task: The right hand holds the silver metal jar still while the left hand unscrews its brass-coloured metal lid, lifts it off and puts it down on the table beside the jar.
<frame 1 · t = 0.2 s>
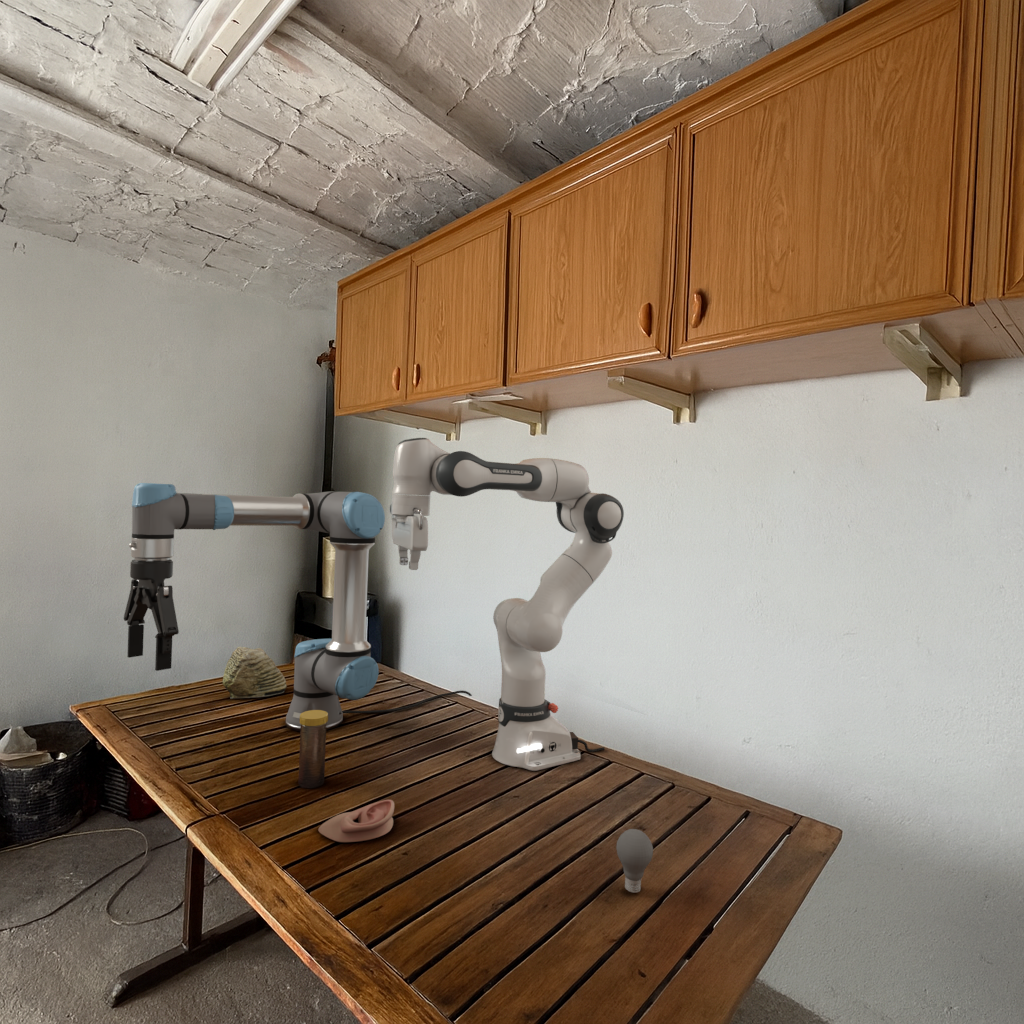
left hand: (148, 662, 129), 28 cm above the table, tool pointing down, fingers open, 13 cm apart
right hand: (408, 567, 147), 48 cm above the table, tool pointing down, fingers open, 8 cm apart
light bulb: (632, 891, 106), on the table
fossil: (254, 694, 198), on the table
anatomical model: (356, 828, 122), on the table
jar: (311, 782, 140), on the table
lid: (313, 715, 140), point 15 cm above the table, screwed on, not yet turned
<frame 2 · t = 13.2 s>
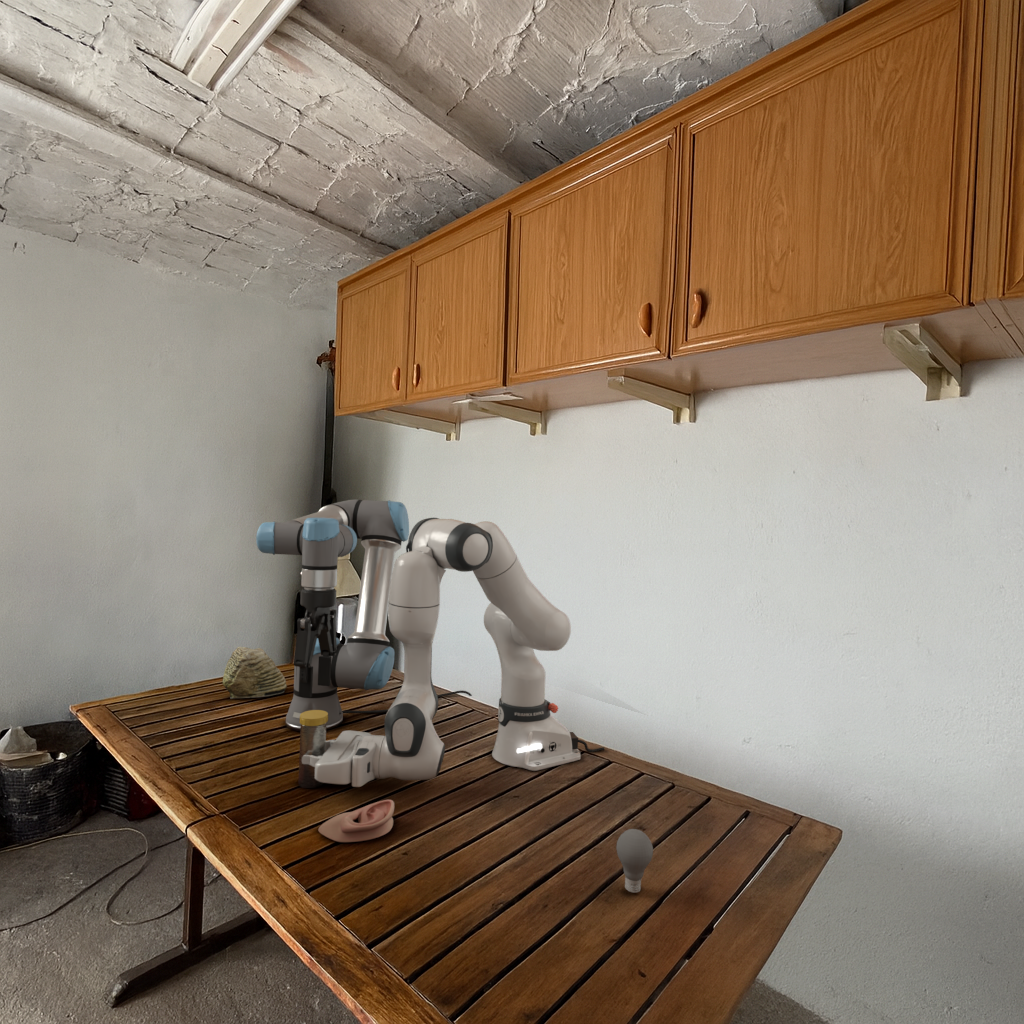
left hand: (314, 690, 140), 21 cm above the table, tool pointing down, fingers open, 8 cm apart
right hand: (308, 752, 140), 7 cm above the table, tool horizontal, fingers closed on jar, 5 cm apart
jar: (311, 782, 140), on the table, touching right hand
everything else where it was.
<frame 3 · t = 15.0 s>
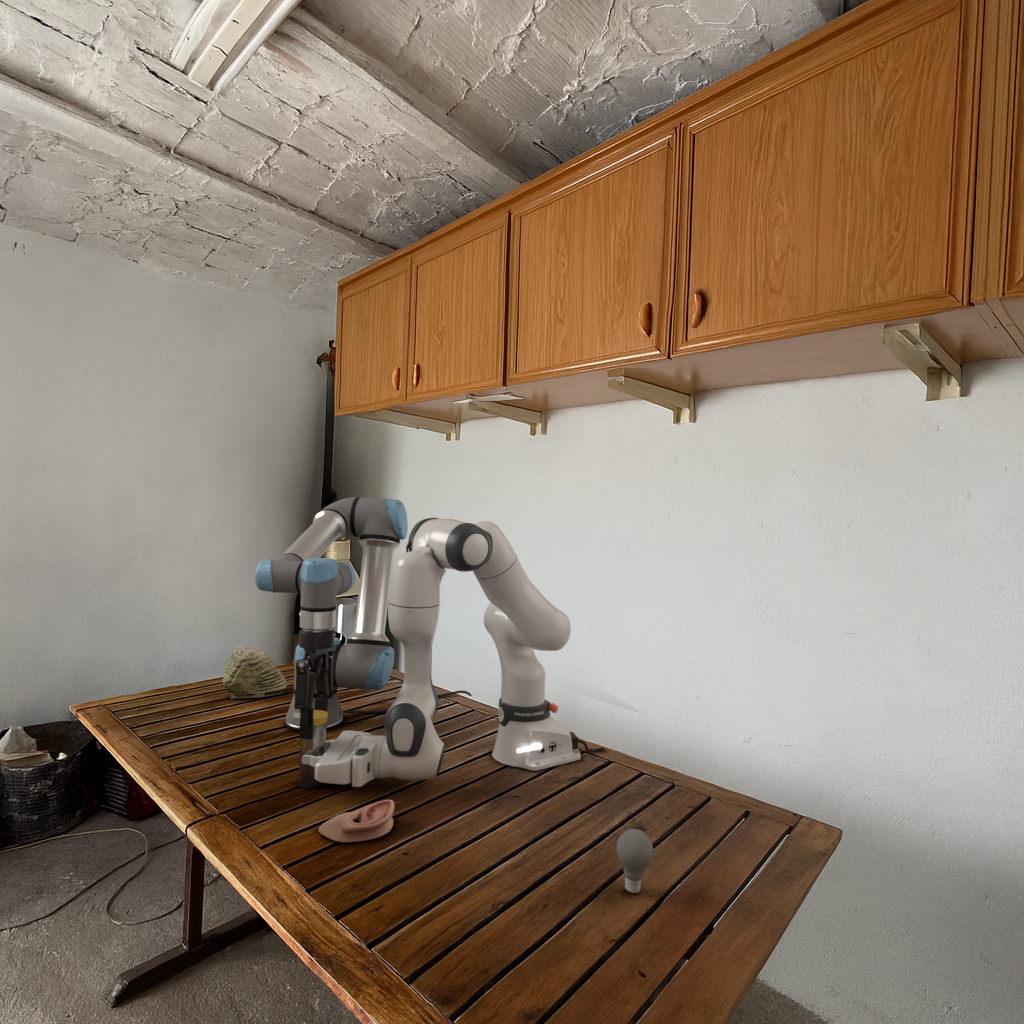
left hand: (313, 732, 140), 11 cm above the table, tool pointing down, fingers closed on lid, 6 cm apart
right hand: (308, 752, 140), 7 cm above the table, tool horizontal, fingers closed on jar, 5 cm apart
jar: (311, 782, 140), on the table, touching right hand
lid: (313, 715, 140), point 15 cm above the table, screwed on, not yet turned, touching left hand
everything else where it was.
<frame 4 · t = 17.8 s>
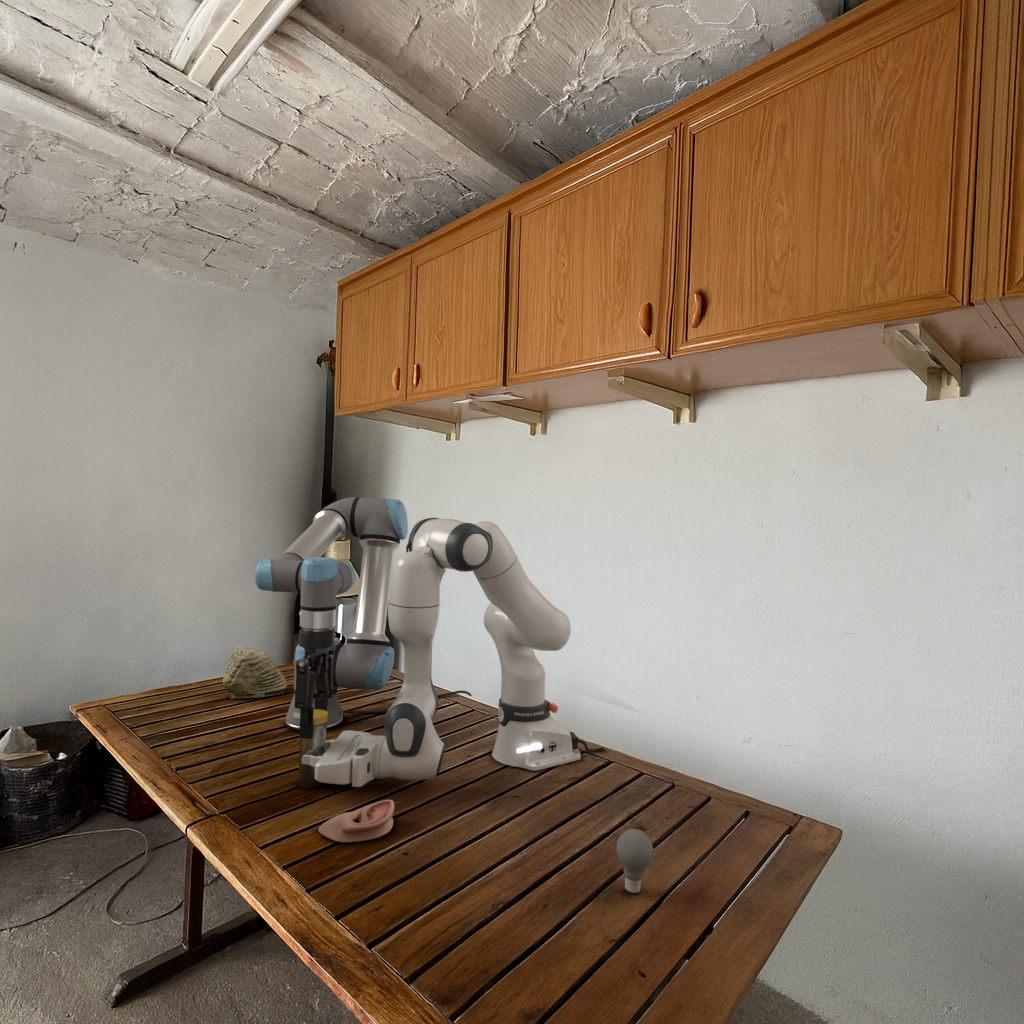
left hand: (313, 732, 140), 11 cm above the table, tool pointing down, fingers closed on lid, 6 cm apart
right hand: (308, 752, 140), 7 cm above the table, tool horizontal, fingers closed on jar, 5 cm apart
jar: (311, 782, 140), on the table, touching right hand
lid: (313, 715, 140), point 15 cm above the table, turned 64° so far, risen 0.2 cm, still on its thread, touching left hand
everything else where it was.
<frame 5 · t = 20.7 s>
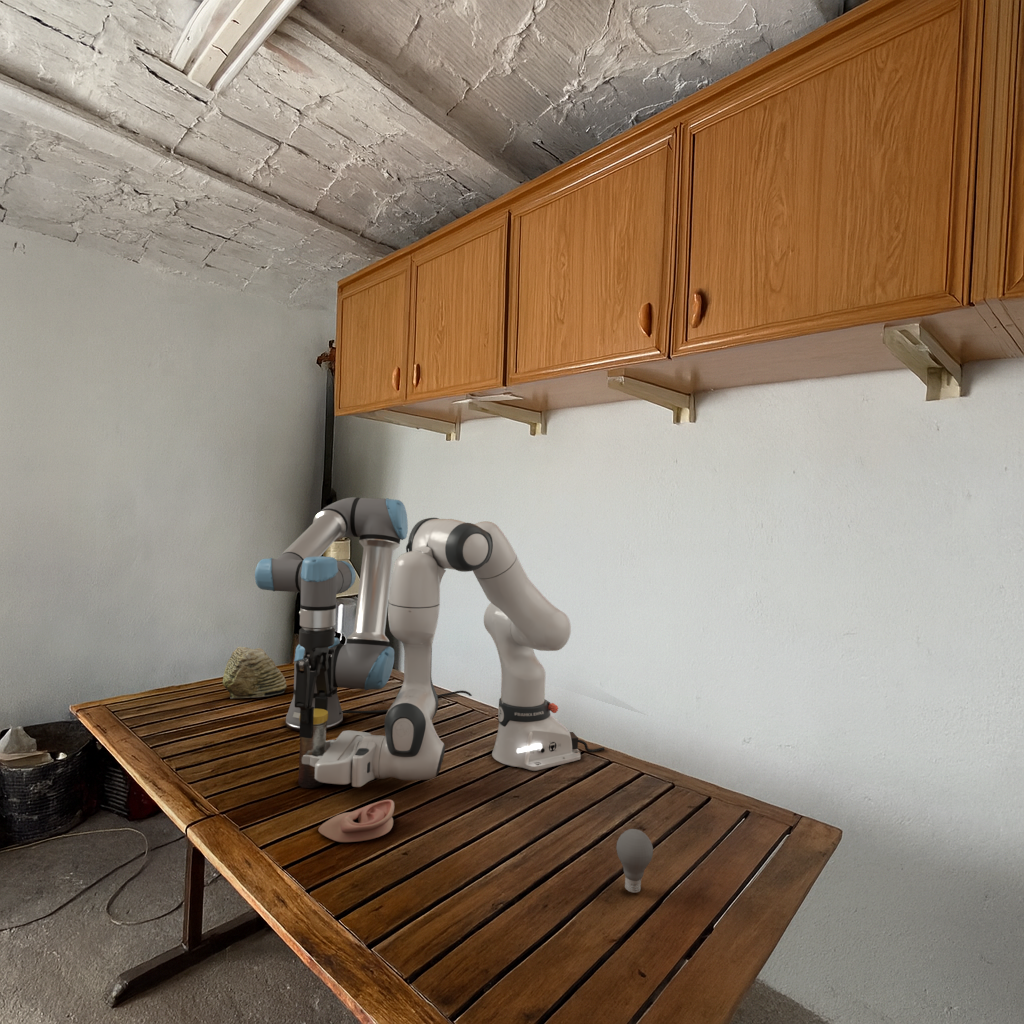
left hand: (313, 731, 140), 11 cm above the table, tool pointing down, fingers closed on lid, 6 cm apart
right hand: (308, 752, 140), 7 cm above the table, tool horizontal, fingers closed on jar, 5 cm apart
jar: (311, 782, 140), on the table, touching right hand
lid: (314, 714, 140), point 15 cm above the table, turned 128° so far, risen 0.3 cm, still on its thread, touching left hand
everything else where it was.
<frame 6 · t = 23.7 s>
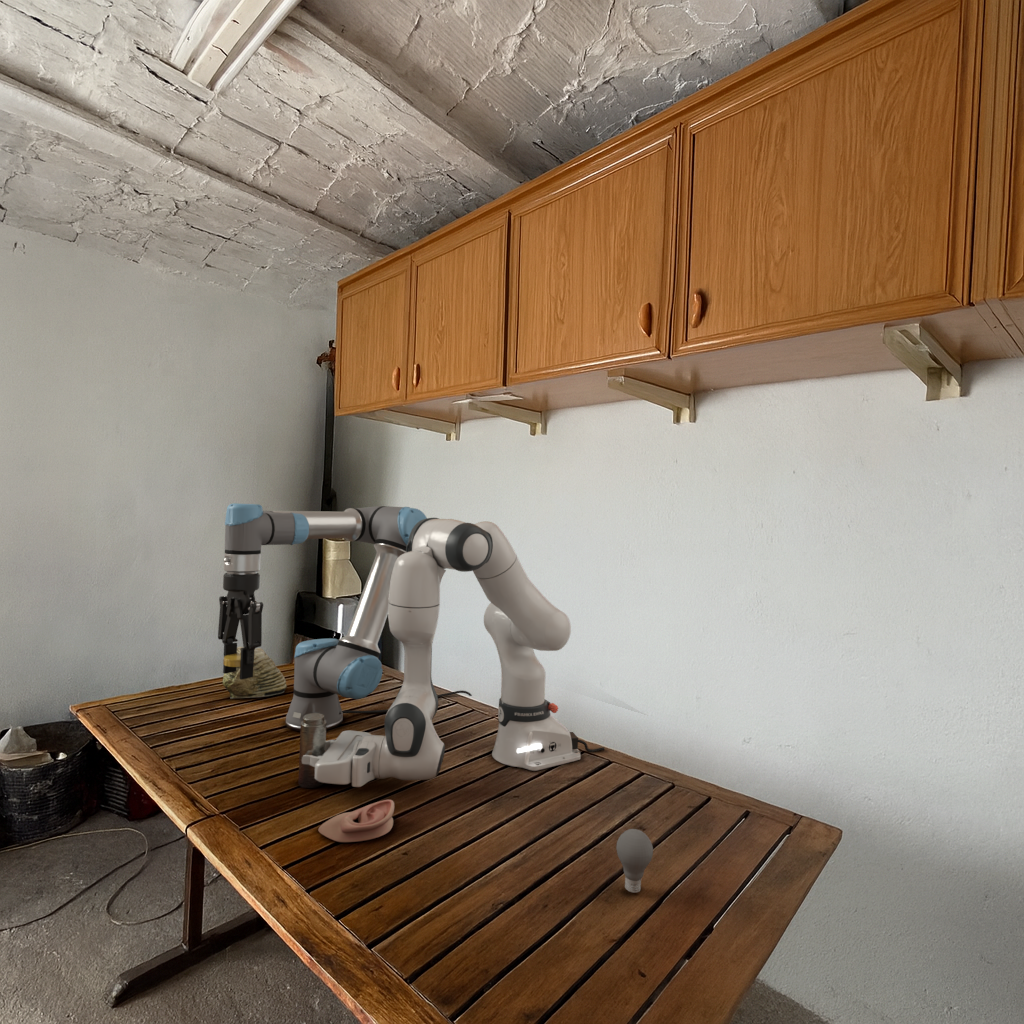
left hand: (237, 674, 142), 22 cm above the table, tool pointing down, fingers closed on lid, 6 cm apart
right hand: (308, 752, 140), 7 cm above the table, tool horizontal, fingers closed on jar, 5 cm apart
jar: (311, 782, 140), on the table, touching right hand
lid: (238, 658, 142), point 26 cm above the table, off its thread, touching left hand
everything else where it was.
when the left hand's fingers open (0 cm above the table, at t = 26.8 s): lid drops 3 cm, point 1 cm above the table.
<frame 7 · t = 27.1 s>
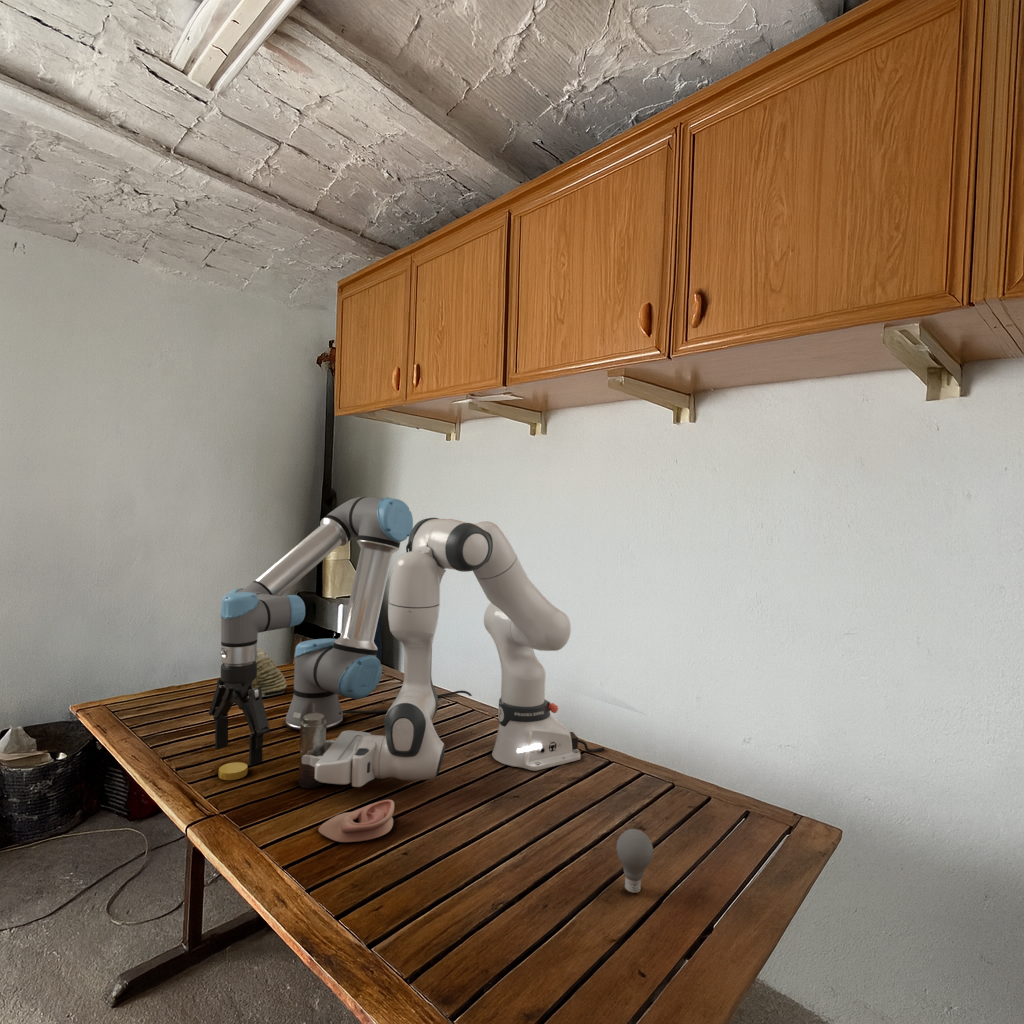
left hand: (238, 755, 143), 4 cm above the table, tool pointing down, fingers open, 13 cm apart
right hand: (308, 752, 140), 7 cm above the table, tool horizontal, fingers closed on jar, 5 cm apart
jar: (311, 782, 140), on the table, touching right hand
lid: (233, 769, 142), point 1 cm above the table, off its thread
everything else where it was.
when the right hand's fingers open (7 cm above the table, at t = 27.5 s): jar stays where it is, on the table.
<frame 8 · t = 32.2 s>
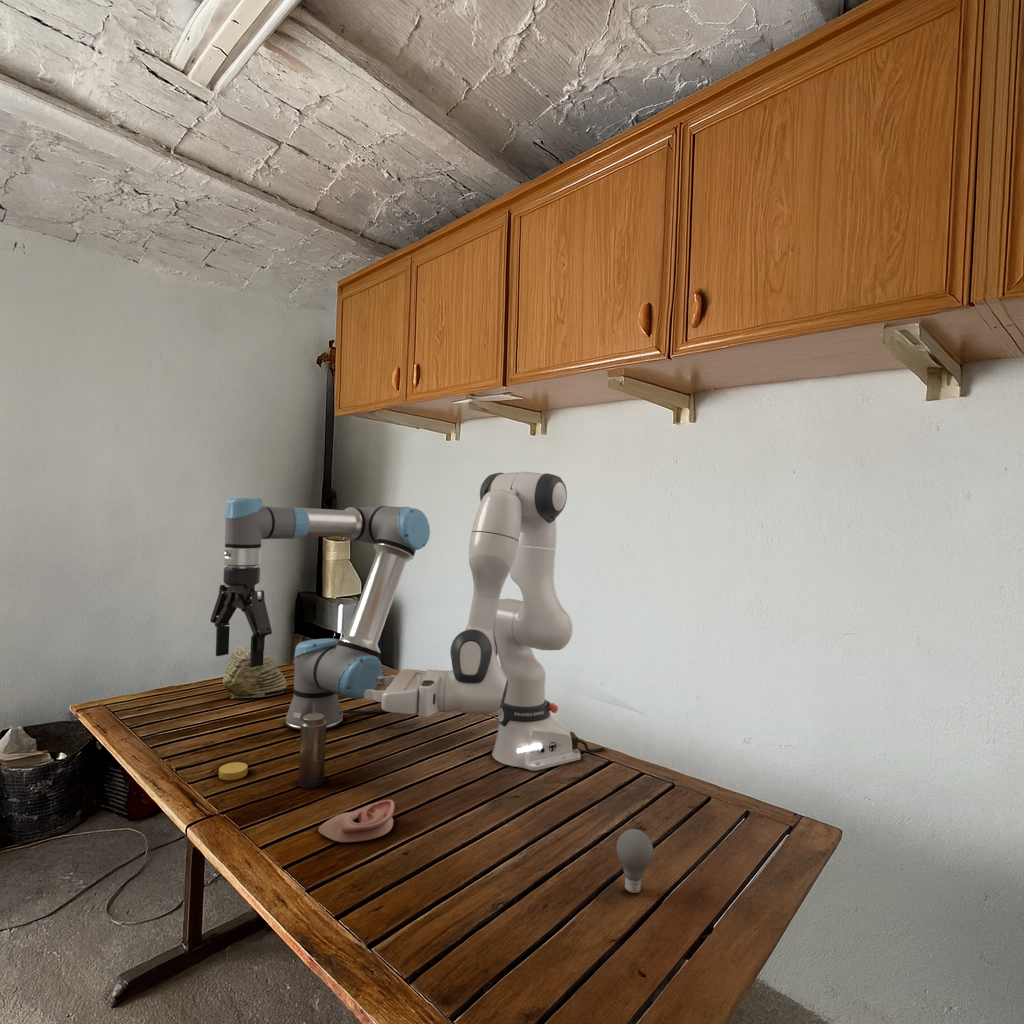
left hand: (238, 660, 142), 26 cm above the table, tool pointing down, fingers open, 13 cm apart
right hand: (370, 687, 139), 22 cm above the table, tool horizontal, fingers open, 8 cm apart
jar: (311, 782, 140), on the table
everything else where it was.
at the end: lid came off its thread; lid point 1.2 cm above the table; the left hand is holding nothing; the right hand is holding nothing; jar tilted 0°; jar moved 0.0 cm from its start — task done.
